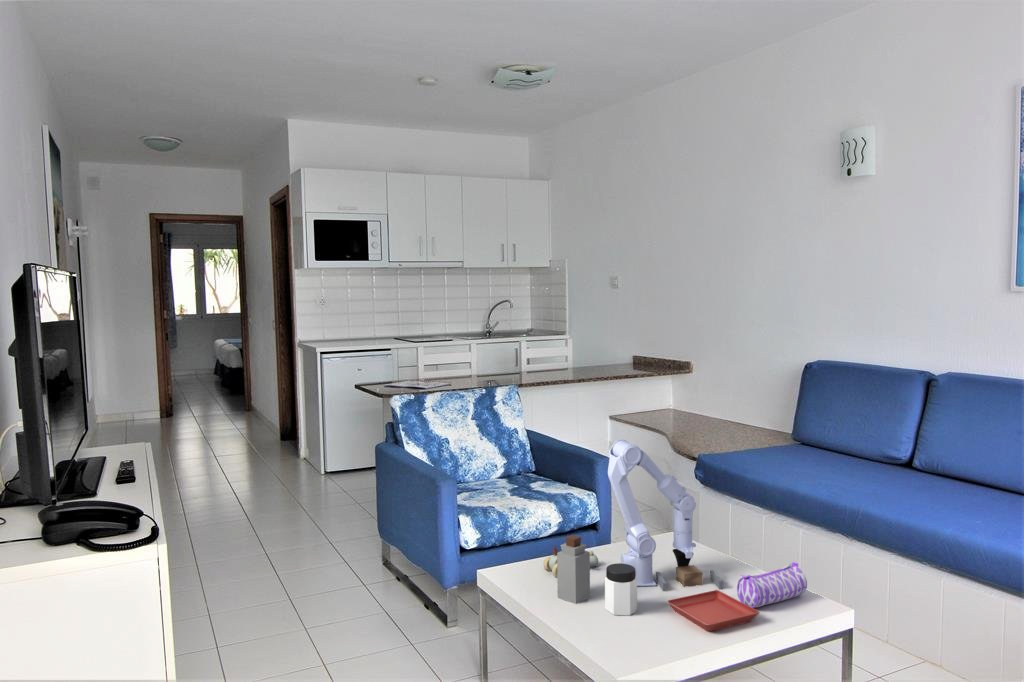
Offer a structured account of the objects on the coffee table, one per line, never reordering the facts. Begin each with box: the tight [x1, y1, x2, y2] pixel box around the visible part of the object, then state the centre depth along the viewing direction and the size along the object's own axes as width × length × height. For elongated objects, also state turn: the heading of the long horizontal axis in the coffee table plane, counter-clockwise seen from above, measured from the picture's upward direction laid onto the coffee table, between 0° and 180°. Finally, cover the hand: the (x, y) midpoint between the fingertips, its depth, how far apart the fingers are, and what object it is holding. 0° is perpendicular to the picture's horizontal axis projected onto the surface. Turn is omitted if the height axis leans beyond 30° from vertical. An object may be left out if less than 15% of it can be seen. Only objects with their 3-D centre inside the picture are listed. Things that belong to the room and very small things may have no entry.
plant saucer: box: [666, 589, 760, 632], centre depth 212 cm, size 18×18×3 cm
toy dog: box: [543, 546, 599, 578], centre depth 249 cm, size 12×19×9 cm, turn 138°
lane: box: [655, 569, 723, 592], centre depth 235 cm, size 18×9×2 cm, turn 93°
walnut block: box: [675, 564, 704, 588], centre depth 237 cm, size 6×6×4 cm
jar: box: [604, 562, 638, 617], centre depth 217 cm, size 9×8×12 cm
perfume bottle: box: [556, 534, 591, 605], centre depth 226 cm, size 7×7×18 cm
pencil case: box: [736, 561, 808, 609], centre depth 222 cm, size 22×9×10 cm, turn 122°
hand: (682, 573), depth 241 cm, fingers closed
